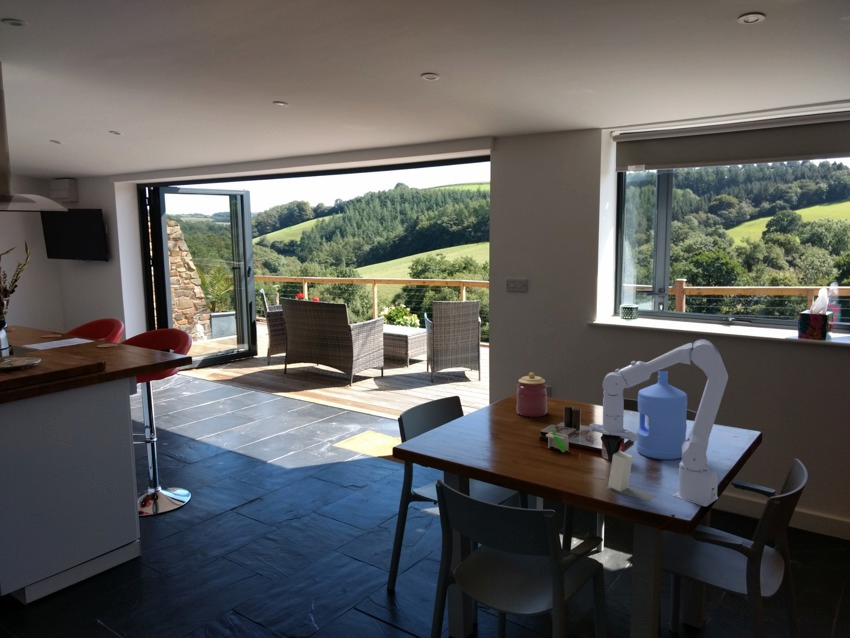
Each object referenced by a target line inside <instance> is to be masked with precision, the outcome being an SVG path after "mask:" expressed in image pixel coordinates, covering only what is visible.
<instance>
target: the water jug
mask: <svg viewBox="0 0 850 638" xmlns="http://www.w3.org/2000/svg"><path fill="white" fill-rule="evenodd" d="M657 373H658V375H657V382H656V383H655V384H651V385H649V386H646V387H644V388H642V389H639V390H638V394H637V411H638V413H639V425H638V426H639V427H638V429H637V434H638V440H637V441H636V451H637V452H638V453H639V454H641V455H642V456H644V457H648V458H651V459H654V460H656V459H657V460H667V461H671V460H673V461H674V460H679V459H680V458H681V459H682V451H681V447H682V444H683V443H684V442H685V441H686V440H687V428H688V427H687V412H688V411H687V410H688V394H687V393H686V392H685V391H683V390H681V389H679V388H677V387H675V386H673V385H671V384H669V381H668V379H669V376H668V374H669V371H667V370H665V371H664V370H658V371H657ZM646 417H647V418H648V425H646Z"/></svg>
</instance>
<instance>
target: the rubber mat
mask: <svg viewBox="0 0 850 638" xmlns="http://www.w3.org/2000/svg"><path fill="white" fill-rule="evenodd" d="M605 489H607V490H610V491H614V492H617V493H620V494H623V495H626V496H630V497H633V498H637V499H638V500H643V501H645V502H648V501H651V500H652V499H654V498H656V497H657V495H654V494H651V493H648V492H644V491H641V490H639V489H635V488H632V487H629V486H628V488H627V489H625V490H623V491H621V492H620V491H618V490H616V489H613V488H611V487H609V486H608V485H607V486H606V487H605Z"/></svg>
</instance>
